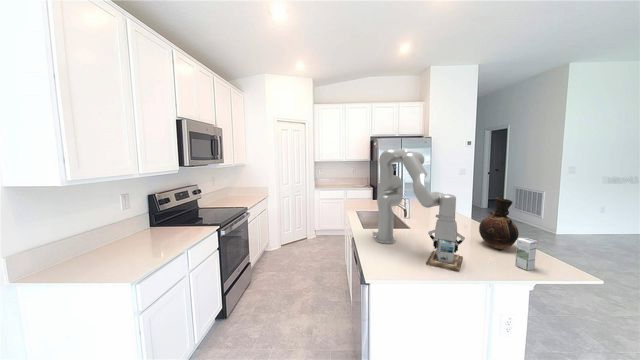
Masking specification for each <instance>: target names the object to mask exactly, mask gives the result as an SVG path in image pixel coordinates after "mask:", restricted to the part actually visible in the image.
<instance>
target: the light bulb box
mask: <svg viewBox="0 0 640 360" xmlns="http://www.w3.org/2000/svg"><path fill="white" fill-rule="evenodd" d="M435 250H436V254H437V257H438V260H439V262H445V263H452V264H453V258H454V254H455V252H454V250H455V243H454V242H452V241H446V240H441V239H437V248H436V249H435Z"/></svg>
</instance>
